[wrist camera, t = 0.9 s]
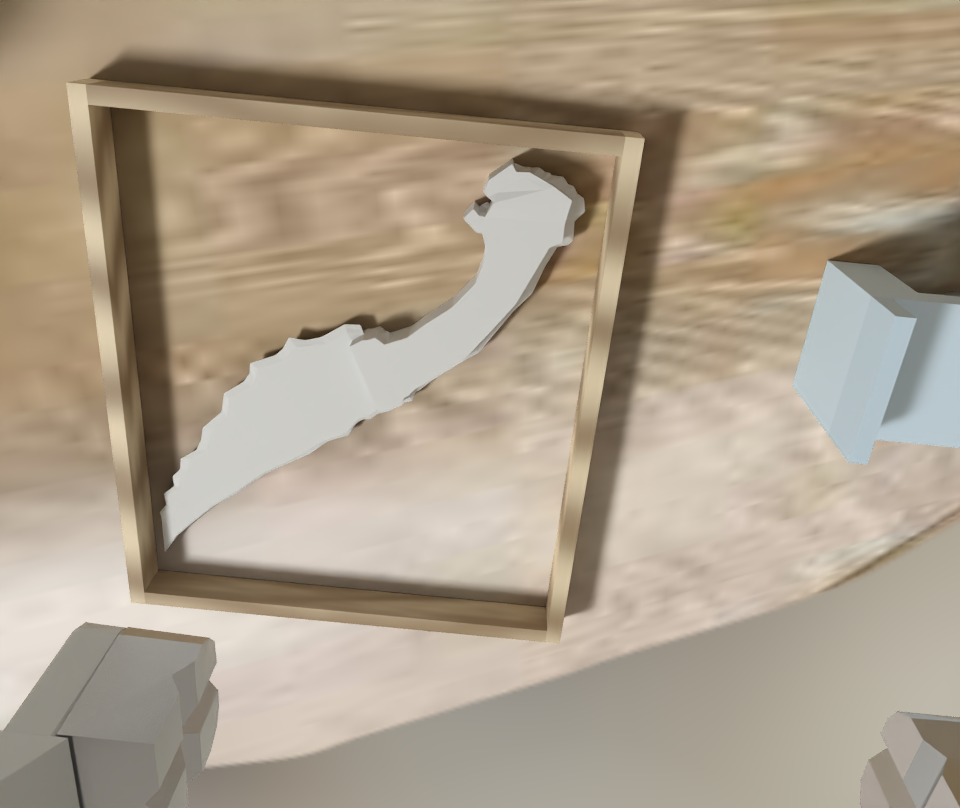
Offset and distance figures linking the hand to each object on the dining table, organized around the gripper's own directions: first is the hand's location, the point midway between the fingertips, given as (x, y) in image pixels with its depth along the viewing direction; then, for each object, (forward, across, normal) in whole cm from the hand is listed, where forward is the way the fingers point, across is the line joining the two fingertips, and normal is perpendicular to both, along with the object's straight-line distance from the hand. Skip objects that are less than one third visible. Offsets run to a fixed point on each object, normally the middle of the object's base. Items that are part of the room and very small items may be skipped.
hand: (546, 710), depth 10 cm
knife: (+40, +9, +15) cm, 44 cm away
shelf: (+40, -25, +8) cm, 48 cm away
